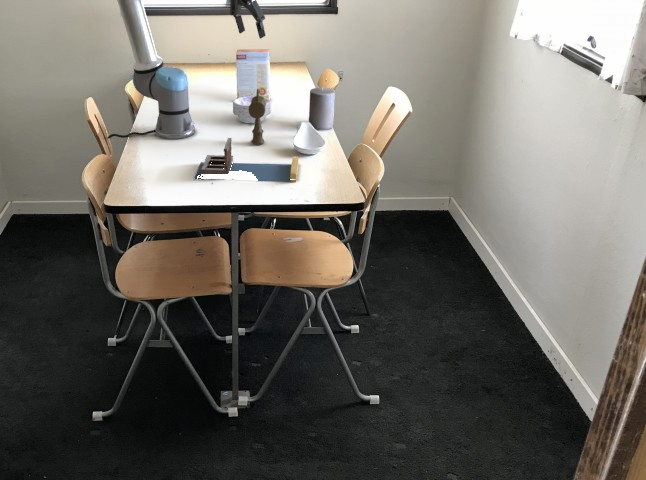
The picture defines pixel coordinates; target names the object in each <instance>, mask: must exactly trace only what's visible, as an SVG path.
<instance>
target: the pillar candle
mask: <svg viewBox="0 0 646 480" xmlns="http://www.w3.org/2000/svg"><path fill="white" fill-rule="evenodd" d="M335 97H336V90H335V89H333V88H331V87H330V88H329V87H323V86H322V87H314V88H311V89H310V90H309V107H308V109H309V111H308V122H309V123H310V124H311V125H312V126H313V127H314V129H315V130H316V131H318V130H319V131H324V130H330V129H332V128H333V127H334V116H335V115H334V113H335V99H336V98H335Z"/></svg>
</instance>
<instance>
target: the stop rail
mask: <svg viewBox="0 0 646 480" xmlns="http://www.w3.org/2000/svg"><path fill="white" fill-rule="evenodd" d="M299 158H300V157H299V156H292V160H291V164H292V165H291V172H290V179H296V180H290V182H289V183H297V181H298V180H297V179H298V172H297V171H299Z"/></svg>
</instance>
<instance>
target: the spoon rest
mask: <svg viewBox="0 0 646 480" xmlns="http://www.w3.org/2000/svg"><path fill="white" fill-rule="evenodd" d="M292 145H293V147H294V149H295V150H296V151H297V152H298V153H301V154H303V155H310V156H311V155H316V154H319V153H320V152H322V151H324V149H325V148H326V145H327V141H326V140H325V138H324V137H323V136H322V135H321V134H320V133H319V131H318V130H317V129H314V127H313V126H312V125H311V124H310V123H309V121H307V122H299V124H298V126H297V129H296V133H295V136H294V137H293V140H292Z"/></svg>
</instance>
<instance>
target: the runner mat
mask: <svg viewBox="0 0 646 480" xmlns="http://www.w3.org/2000/svg"><path fill="white" fill-rule="evenodd" d="M203 164H204V161H200V164H199V166H198V168H197V170H196V172H195V174H194V177H193V180H196V179H197V176H198V175H200V176H201V168H202V166H203ZM291 165H292V163H291V164H288V163H251V162H250V163H249V162H248V163H247V162H233V166H232V169H231V171H239V170H242V171H247V172H252V174H254V176H256V178H257V179H258V181H257V182H268V183H269V182H270V183H272V182H273V183H291V182H290V172H291ZM217 169H223V168H217ZM298 171H299V170H298ZM298 171H297V173H298ZM200 176H199V177H200ZM194 178H195V179H194ZM199 179H201V178H198V180H197V181H205V180H204V179H201V180H199Z"/></svg>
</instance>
